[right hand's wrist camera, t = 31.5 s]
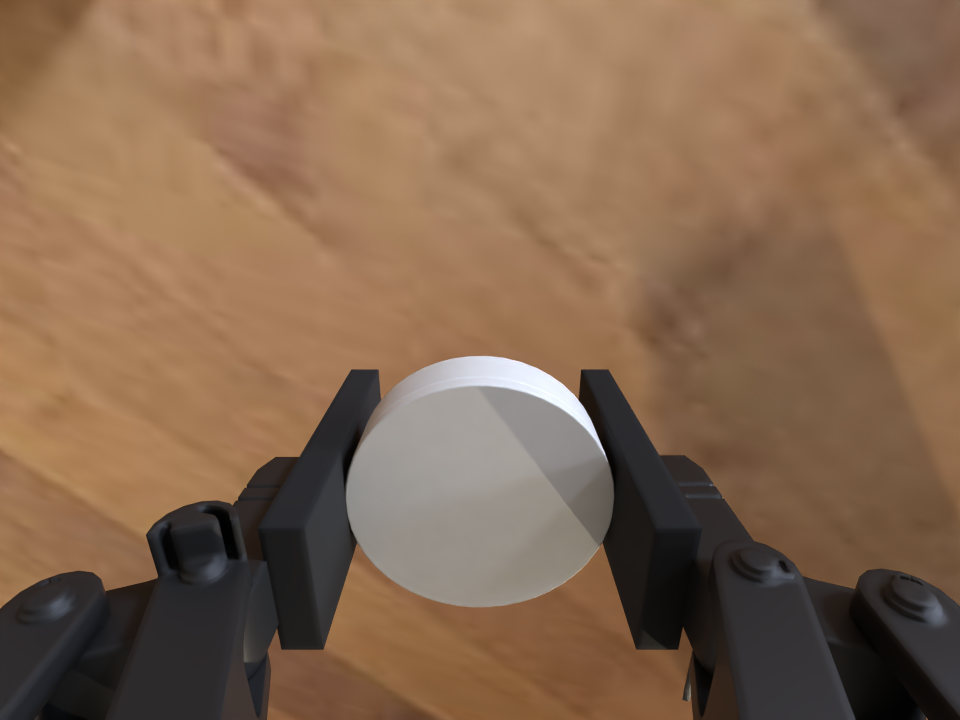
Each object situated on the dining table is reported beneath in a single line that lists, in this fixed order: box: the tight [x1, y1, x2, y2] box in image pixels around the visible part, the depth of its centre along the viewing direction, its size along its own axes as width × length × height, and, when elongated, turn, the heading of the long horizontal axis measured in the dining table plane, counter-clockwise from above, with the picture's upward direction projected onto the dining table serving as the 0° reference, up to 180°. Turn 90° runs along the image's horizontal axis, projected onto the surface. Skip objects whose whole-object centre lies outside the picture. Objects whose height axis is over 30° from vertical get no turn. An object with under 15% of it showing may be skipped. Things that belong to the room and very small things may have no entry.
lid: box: [345, 356, 614, 607], centre depth 12 cm, size 6×6×2 cm
